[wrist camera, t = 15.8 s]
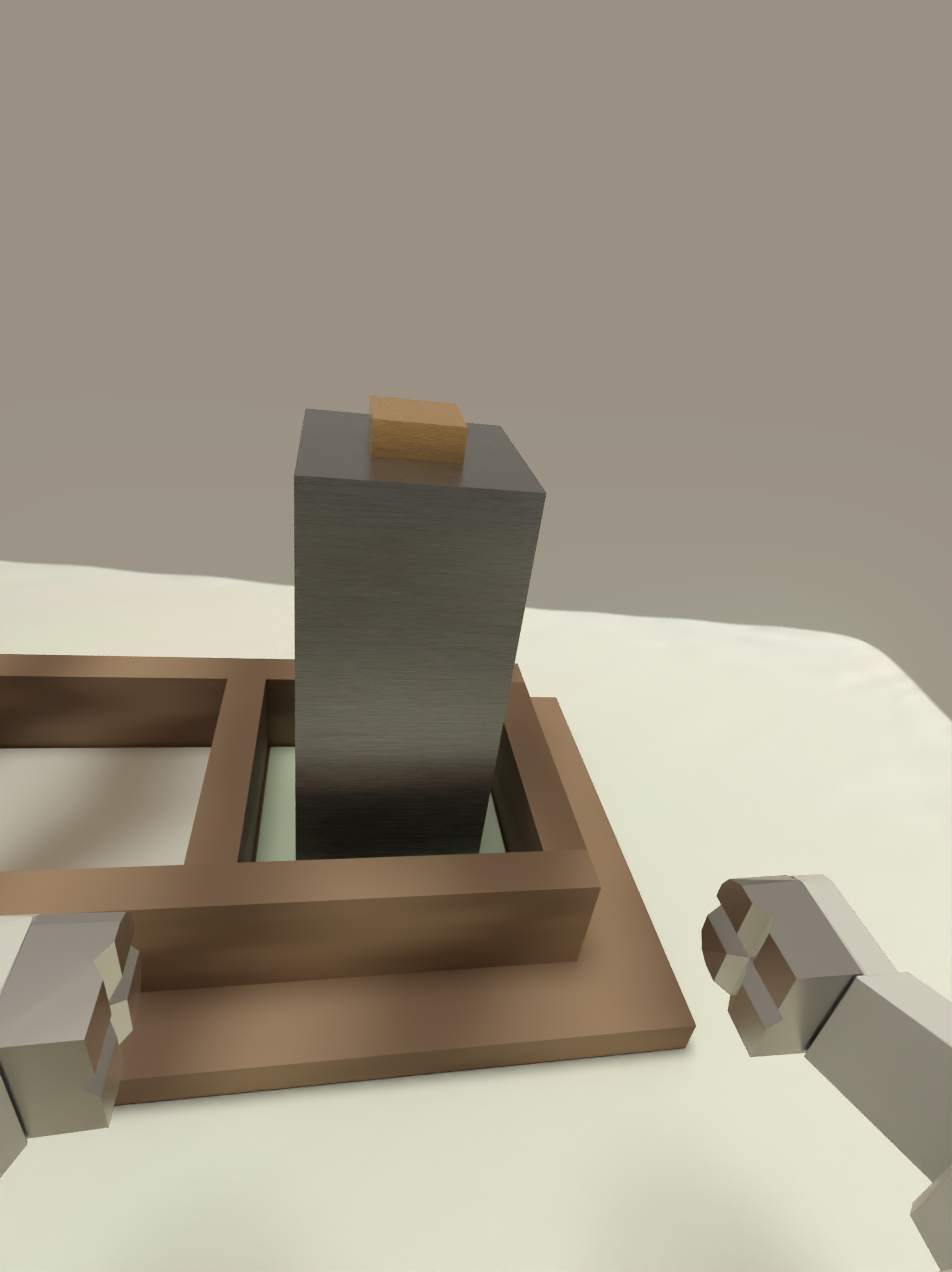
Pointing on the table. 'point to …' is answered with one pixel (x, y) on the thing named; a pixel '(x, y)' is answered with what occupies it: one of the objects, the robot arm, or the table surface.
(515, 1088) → the table surface
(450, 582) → the battery cell
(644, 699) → the table surface
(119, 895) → the walnut cell rack
